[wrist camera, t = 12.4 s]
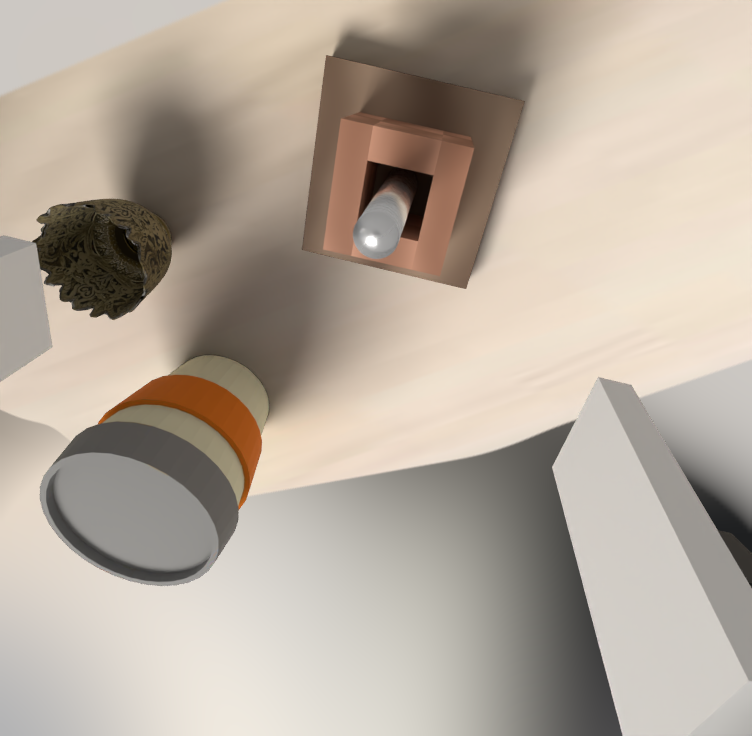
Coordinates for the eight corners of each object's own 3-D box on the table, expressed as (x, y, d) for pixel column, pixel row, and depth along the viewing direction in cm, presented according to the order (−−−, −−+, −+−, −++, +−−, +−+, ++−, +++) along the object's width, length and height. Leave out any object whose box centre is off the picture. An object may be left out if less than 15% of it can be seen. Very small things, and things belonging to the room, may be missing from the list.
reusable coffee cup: (309, 439, 46) (255, 578, 34) (196, 462, 50) (106, 596, 37) (251, 320, 41) (159, 431, 28) (128, 355, 44) (-5, 467, 31)
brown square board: (307, 243, 37) (301, 249, 36) (332, 56, 31) (326, 55, 30) (465, 281, 37) (465, 289, 36) (521, 100, 31) (524, 101, 29)
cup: (127, 159, 36) (49, 177, 29) (215, 225, 37) (161, 257, 30) (92, 239, 39) (15, 273, 32) (174, 296, 41) (117, 340, 34)
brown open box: (342, 224, 34) (322, 249, 29) (359, 111, 31) (340, 118, 26) (441, 246, 34) (439, 276, 29) (470, 136, 31) (474, 148, 26)
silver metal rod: (384, 195, 33) (349, 253, 22) (390, 163, 32) (357, 207, 21) (413, 201, 33) (393, 263, 22) (421, 170, 32) (404, 218, 21)
